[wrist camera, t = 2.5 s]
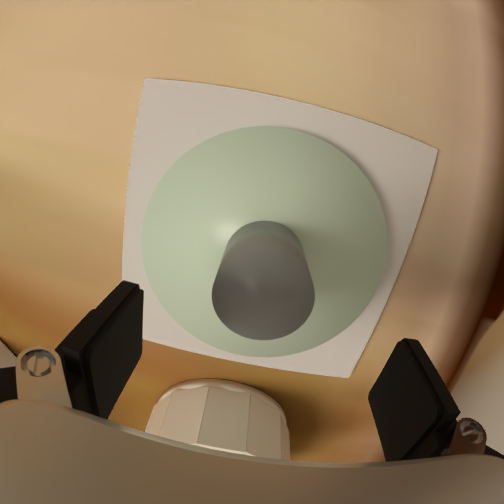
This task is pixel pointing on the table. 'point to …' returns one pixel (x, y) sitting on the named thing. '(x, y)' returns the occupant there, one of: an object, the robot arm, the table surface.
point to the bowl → (222, 418)
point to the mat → (286, 116)
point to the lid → (264, 241)
